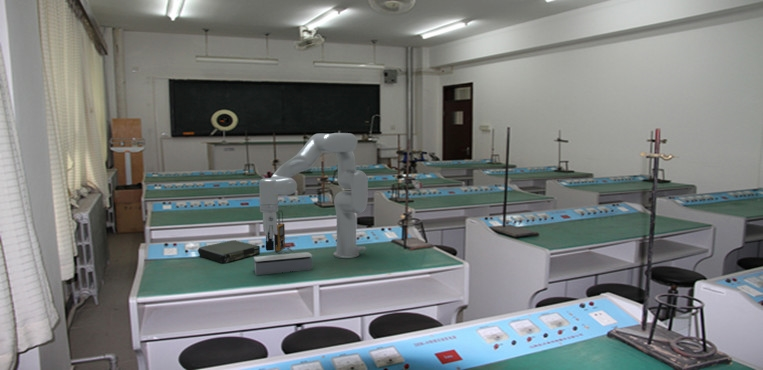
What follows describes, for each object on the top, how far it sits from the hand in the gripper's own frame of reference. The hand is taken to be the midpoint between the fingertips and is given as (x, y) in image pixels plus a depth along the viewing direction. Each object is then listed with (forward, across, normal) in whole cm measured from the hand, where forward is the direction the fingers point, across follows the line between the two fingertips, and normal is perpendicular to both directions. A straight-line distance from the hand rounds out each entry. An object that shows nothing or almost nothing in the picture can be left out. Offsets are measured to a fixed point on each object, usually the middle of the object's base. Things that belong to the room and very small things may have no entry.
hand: (269, 249), depth 204 cm
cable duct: (+10, +3, -6) cm, 12 cm away
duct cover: (+5, +4, -6) cm, 9 cm away
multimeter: (+10, +37, -13) cm, 41 cm away
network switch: (+11, +36, +15) cm, 41 cm away
